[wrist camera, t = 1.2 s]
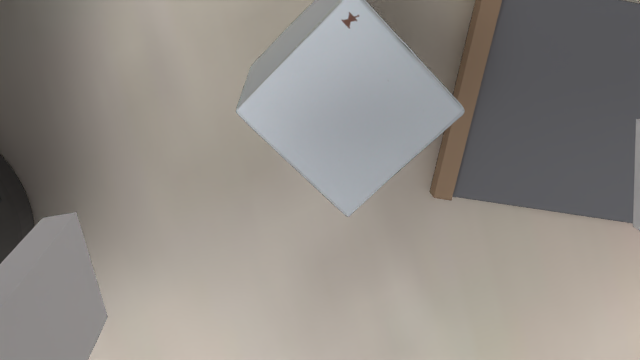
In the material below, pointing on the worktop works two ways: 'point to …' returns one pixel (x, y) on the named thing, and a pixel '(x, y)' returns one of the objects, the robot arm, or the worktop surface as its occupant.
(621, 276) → the worktop surface
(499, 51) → the mat
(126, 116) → the worktop surface
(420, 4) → the worktop surface
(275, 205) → the worktop surface
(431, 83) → the supplement box
